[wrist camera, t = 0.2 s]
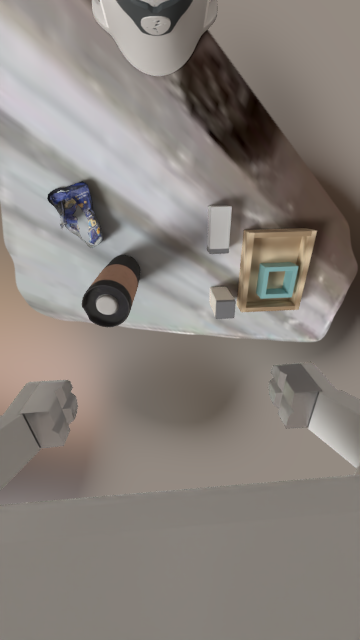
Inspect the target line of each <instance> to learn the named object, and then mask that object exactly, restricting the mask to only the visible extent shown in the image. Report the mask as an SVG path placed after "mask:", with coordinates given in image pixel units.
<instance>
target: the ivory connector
mask: <svg viewBox="0 0 360 640" xmlns="http://www.w3.org/2000/svg"><path fill="white" fill-rule="evenodd" d="M209 302H210V305H211V307H212V310H213V313H214V315H215V318H216V319H226V318H234V313H235V303H236V301H235V300H234V298H233V297H232V295H231V293H230V292H229V290H228V289H227V287H210V301H209Z"/></svg>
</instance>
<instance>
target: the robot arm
mask: <svg viewBox="0 0 360 640" xmlns="http://www.w3.org/2000/svg"><path fill="white" fill-rule="evenodd" d="M217 9H218V6H217V0H211V2H209V0H100V2H99V0H92V10H93V14H94V18H95V20H96V21H97V23H98V24H99V25H100V26H101V27H102V28H103V29H105V30H106V31H107V32H108V33H109V34H111V36H112V37H113V38H114V40H115V42H116V43H117V45H118V47H119V49H120V50H121V52H122V53H123V55H124V56H125V58H126V59H127V60H128V61H129V62H130V63H131V64H132V65H133V66H134V67H135V68H137V69H138V70H140V71H142V72H143V73H146V74H149V75H153V76H164V75H168V74H171V73H173V72H175V71H177V70H178V69H179V68H181V67H182V66H183V65H184V64H185V63H186V62H187V60H188V59H189V58H190V56H191V55H192V53H193V51H194V49H195V47H196V45H197V43H198V40H199V39H200V37H201V35H202V34H203V33H204V32H205V31H206V30H207V29H208V28H209V27H210V26H211V25H212V24H213V23H214V21H215V19H216V17H217ZM271 374H272V376H273V378H272V379H271V380H270V382H269V395H270V398H271V401H272V403H273V405H275V406H276V407H277V408H279V412H278V415H279V416H280V419H281V420H282V422H283V424H284V426H285V428H305V427H308V429H309V430H310V431H312V432H313V433H314V434H315V435H317V436H318V437H319V438H320V439H321V440H323V441H324V442H325V443H326V444H328V445H329V446H330V447H331V448H332V449H334V450H335V451H336V452H337V453H339V454H340V455H341V456H342V457H343V458H345V459H346V460H347V461H348V462H350V463H351V464H352V465H353V466H354V467H356V468H357V469H356V471H355V473H354V475H352V476H339V477H327V478H315V479H304V480H291V481H279V482H268V483H256V484H244V485H232V486H220V487H210V488H209V487H208V488H196V489H184V490H173V491H161V492H148V493H137V494H124V495H112V496H101V497H89V498H76V499H65V500H52V501H40V502H29V503H17V504H5V505H0V640H360V399H358V398H356V397H354V396H352V395H350V394H348V393H346V392H344V391H342V390H337V389H336V388H335V387H334V386H333V385H332V383H331V382H330V381H329V380H328V379H327V378H326V377H325V376H324V375H323V373H322V372H321V371H320V370H319V369H318V368H317V366H316V365H315V364H314V363H312V362H304V363H297V364H283V365H273V367H272V370H271ZM72 388H73V387H72V385H71V382H70V381H68V380H57V381H42V382H29V383H27V384H26V385H25V386H24V388H23V389H22V390H21V391H20V393H19V394H18V395H17V397H16V398H15V399H14V401H13V402H12V403H11V405H10V406H9V408H8V409H7V410H6V412H5V413H4V415H3V416H0V490H1V489H2V488H3V487H4V486H5V485H6V484H7V483H8V482H9V481H10V480H11V479H12V478H13V477H14V476H15V475H16V474H17V473H18V472H19V471H20V470H21V469H22V468H23V467H24V466H25V465H26V464H27V463H28V462H29V461H30V460H31V459H32V458H33V457H34V456H35V455H36V454H37V453H38V451H40V448H49V447H58V446H64V444H65V441H66V439H67V437H68V434H69V432H70V428H69V426H68V425H69V424H70V423H71V422H72V421H74V419H75V417H76V414H77V407H78V405H77V399H76V396H75V395H74V394H72V393H71V390H72Z"/></svg>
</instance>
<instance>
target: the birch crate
mask: <svg viewBox="0 0 360 640" xmlns="http://www.w3.org/2000/svg"><path fill="white" fill-rule="evenodd" d="M316 233H317V231H316V230H312V229H308V228H291V229H262V230H244V233H243V243H242V254H241V264H240V274H239V285H238V295H237V306H238V308H239V309H240V311H241V312H255V311H277V310H299V306H300V301H301V297H302V293H303V288H304V284H305V280H306V276H307V271H308V267H309V263H310V259H311V254H312V250H313V246H314V242H315V237H316ZM280 262H292V263H294V264H296V265H297V266H299V267H298V271H297V276H296V281H295V285H294V290H293V295H292V297H288V298H265V299H261V298H260V297H259V296H258V295H257V294H256V288H257V281H258V274H259V266H260V263H280ZM284 276H285V271H276V272H269V276H268V283H267V289H274V288H282V286H283V281H284Z"/></svg>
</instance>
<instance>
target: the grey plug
mask: <svg viewBox="0 0 360 640" xmlns="http://www.w3.org/2000/svg"><path fill="white" fill-rule="evenodd" d="M231 212H232V206H228V205H225V206H208V233H207V251H208V252H209V253H210V254H221V253H229V240H230V226H231Z"/></svg>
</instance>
